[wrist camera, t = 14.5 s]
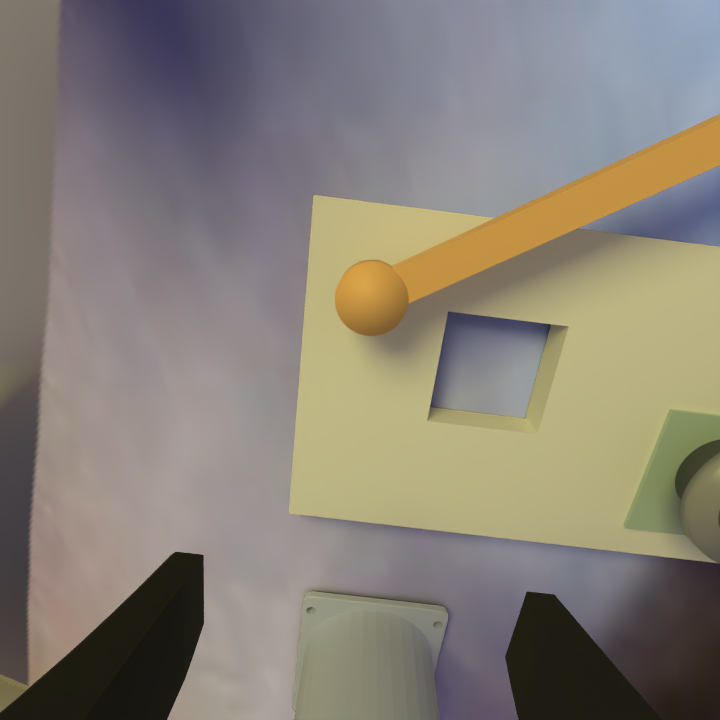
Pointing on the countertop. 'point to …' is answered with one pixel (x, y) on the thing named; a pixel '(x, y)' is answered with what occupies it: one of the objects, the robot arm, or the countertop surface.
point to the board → (548, 400)
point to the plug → (701, 498)
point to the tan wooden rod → (521, 229)
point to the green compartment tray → (9, 691)
